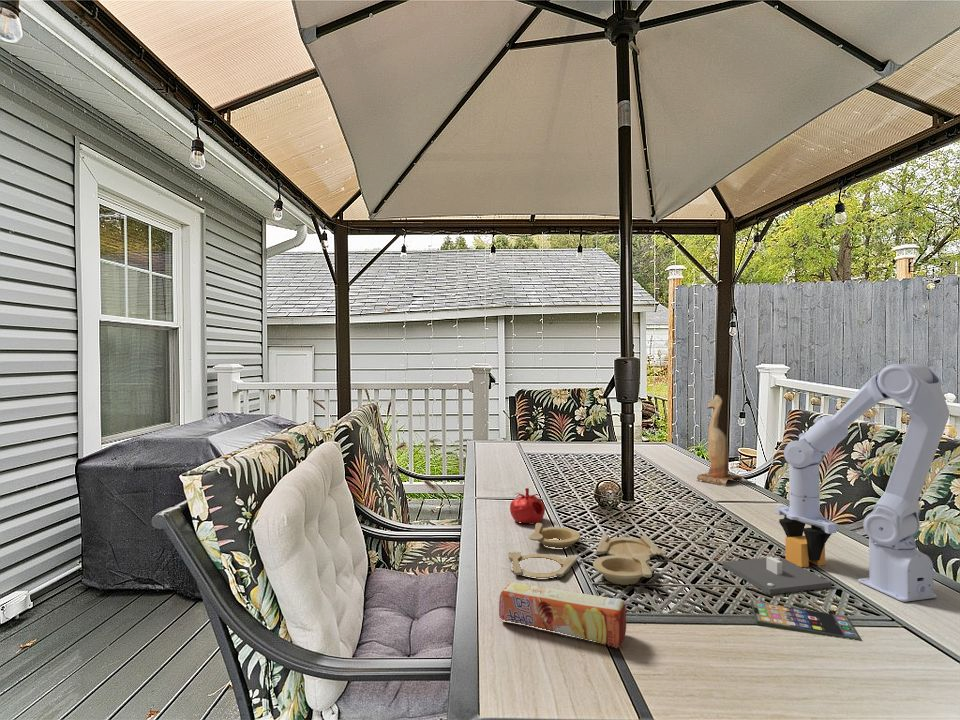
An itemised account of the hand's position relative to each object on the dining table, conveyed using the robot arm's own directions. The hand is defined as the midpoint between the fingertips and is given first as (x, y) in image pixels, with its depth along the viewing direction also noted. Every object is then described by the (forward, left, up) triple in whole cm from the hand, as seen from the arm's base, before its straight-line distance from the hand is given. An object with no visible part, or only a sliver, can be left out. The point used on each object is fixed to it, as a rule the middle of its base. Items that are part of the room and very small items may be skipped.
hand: (805, 555), depth 117 cm
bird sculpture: (+71, -30, -2) cm, 77 cm away
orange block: (0, 0, -1) cm, 1 cm away
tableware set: (+13, +46, -2) cm, 48 cm away
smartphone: (-22, +21, -2) cm, 31 cm away
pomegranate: (+43, +51, -2) cm, 67 cm away
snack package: (-15, +63, -2) cm, 64 cm away
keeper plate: (-5, +12, -1) cm, 13 cm away
